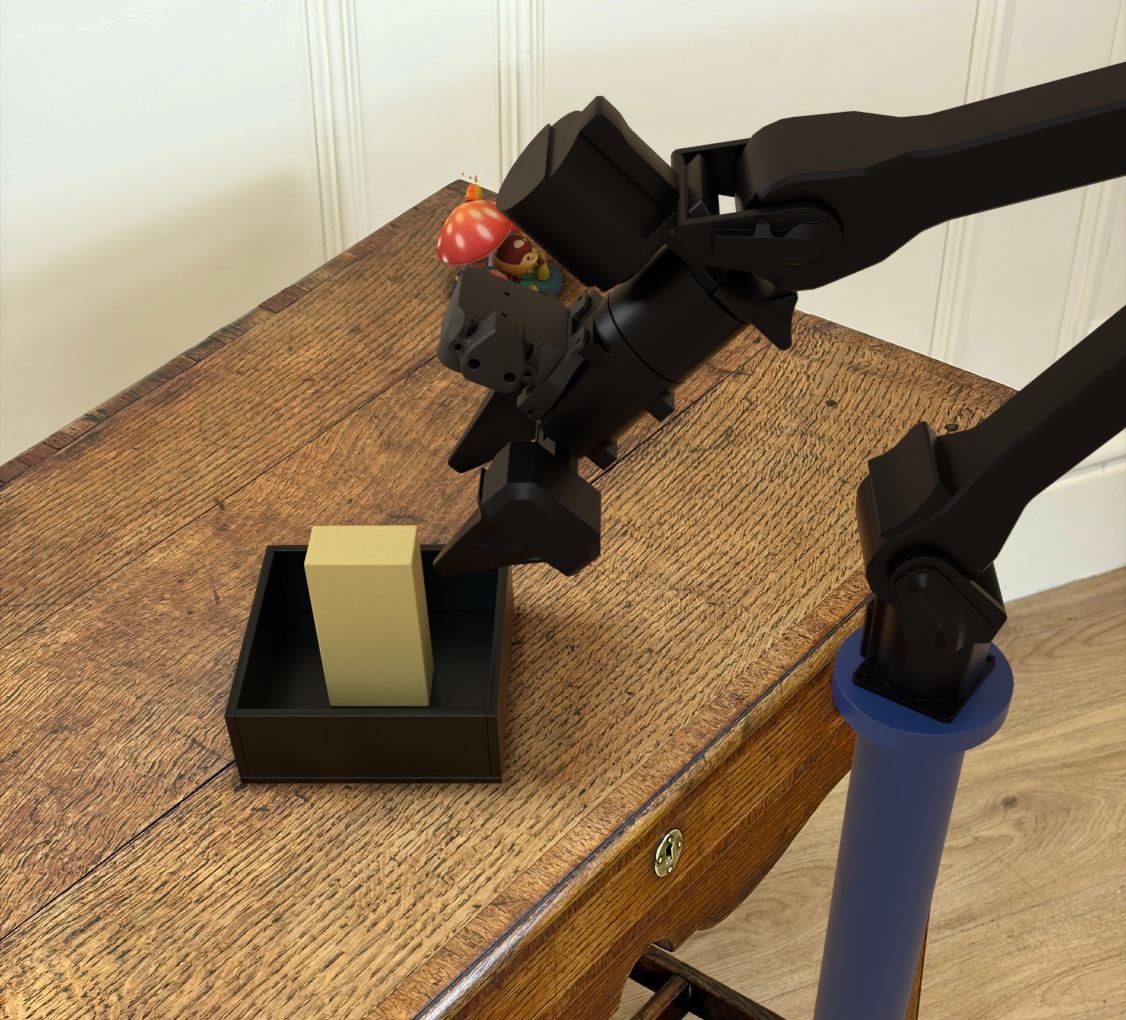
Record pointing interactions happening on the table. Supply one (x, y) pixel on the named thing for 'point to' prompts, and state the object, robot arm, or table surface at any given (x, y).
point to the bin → (372, 733)
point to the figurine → (494, 245)
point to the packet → (371, 614)
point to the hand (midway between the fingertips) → (446, 517)
